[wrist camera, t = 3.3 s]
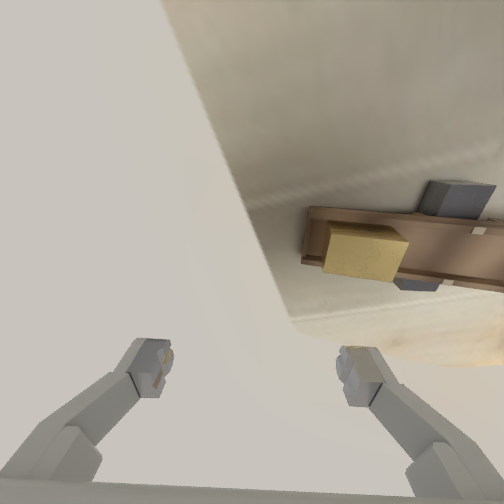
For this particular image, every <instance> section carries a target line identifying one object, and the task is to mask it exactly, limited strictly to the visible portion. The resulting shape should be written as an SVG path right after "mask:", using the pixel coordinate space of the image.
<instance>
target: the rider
mask: <svg viewBox="0 0 504 504" xmlns="http://www.w3.org/2000/svg"><path fill="white" fill-rule="evenodd" d="M409 243H410V242H408V241H407V240H406V239H405V238H404V237H403V236H402V235H401V234H400V233H398V232H397V231H396V230H395V229H394V228H393V227H392V226H385V225H375V224H364V223H354V222H343V221H333V220H327V224H326V229H325V234H324V239H323V243H322V248H321V253H320V255H321V263H322V271H323V272H324V273H331V274H337V275H344V276H351V277H358V278H364V279H371V280H378V281H385V282H391V283H392V281H393V279H394V277H395V274H396V272H397V270H398V268H399V265H400V263H401V261H402V259H403V256H404V254H405V252H406V249H407V247H408V245H409Z"/></svg>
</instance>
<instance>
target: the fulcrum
mask: <svg viewBox="0 0 504 504" xmlns="http://www.w3.org/2000/svg"><path fill="white" fill-rule="evenodd" d="M496 187H497V186H496V185H489V184H483V183H476V182H466V181H431V180H430V182H429V184H428V186H427V189H426V191H425V194H424V196H423V198H422V201H421V203H420V205H419V208H418V210H417V212H416V213H423V214H425V215H426V216H435V217H448V218H460V219H472V220H477V219H478V217H479V216H480V214H481V212H482V211H483V209H484V207H485V205H486V204H487V202H488V200H489V199H490V197H491V195H492V193H493V192H494V190H495V188H496ZM392 282H393V283H394V284H395V285H396V286H397V287H398V288H399V289H400V290H411V291H436V290H437V288H438V286H439V285H440V284H439V283H432V282H425V281H418V280H411V279H404V278H397V277H394V279H393V281H392Z"/></svg>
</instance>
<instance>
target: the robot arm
mask: <svg viewBox="0 0 504 504" xmlns="http://www.w3.org/2000/svg"><path fill="white" fill-rule="evenodd" d="M170 346H171V342H170V340H166V339H150V338H136V339H135V340H134V341H133V342H132V344H131V345H130V347H129V348H128V350H127V351H126V353H125V354H124V356H123V357H122V359H121V360H120V362H119V363H118V365H117V367H116V368H115V369H114V371H113V372H109V373H108V374H106V375H105V376H103V377H102V378H101V379H99V380H98V381H96V382H95V383H94V384H92V385H91V386H90V387H88V388H87V389H86V390H84V391H83V392H81V393H80V394H79V395H77V396H76V397H74V398H73V399H72V400H70V401H69V402H68V403H66V404H65V405H64V406H62V407H61V408H59V409H58V410H57V411H55V412H54V413H52V414H51V415H50V416H48V417H47V418H46V419H44V420H43V421H41V422H40V423H39V424H38V425H37V426H36V428H35V429H34V430H33V431H32V433H31V434H30V435H29V436H28V437H27V439H26V440H25V441H24V443H23V444H22V445H21V446H20V447H19V449H18V450H17V451H16V452H15V453H14V455H13V456H12V457H11V458H10V460H9V461H8V462H7V463H6V465H5V466H4V467H3V468H2V470H1V471H0V504H504V480H503V478H502V477H501V476H500V474H499V473H498V472H497V470H496V469H495V468H494V466H493V465H492V464H491V462H490V461H489V460H488V458H487V457H486V456H485V455H484V453H483V452H482V450H481V449H480V448H479V446H478V445H477V444H476V443H475V442H474V441H473V440H472V439H470V438H469V437H468V436H467V435H465V434H464V433H463V432H462V431H460V430H459V429H458V428H457V427H456V426H454V425H453V424H452V423H451V422H449V421H448V420H447V419H446V418H444V417H443V416H442V415H441V414H439V413H438V412H437V411H436V410H434V409H433V408H432V407H431V406H429V405H428V404H427V403H426V402H425V401H423V400H422V399H421V398H420V397H418V396H417V395H416V394H415V393H413V392H412V391H411V390H410V389H409V388H407V387H406V386H405V385H404V384H399V382H398V381H397V379H396V377H395V376H394V374H393V373H392V371H391V369H390V368H389V366H388V365H387V363H386V361H385V360H384V358H383V357H382V355H381V353H380V352H379V350H378V349H377V348H376V347H363V346H342V347H341V348H340V354H341V355H339V356H338V357H337V360H336V370H337V374H338V377H339V379H340V380H341V381H342V382H343V383H344V387H343V391H344V393H345V396H346V399H347V402H348V404H349V406H356V407H369V409H370V411H371V412H372V413H373V414H374V415H375V416H376V418H377V419H378V420H379V421H380V422H381V423H382V425H383V426H384V427H385V428H386V429H387V430H388V432H389V433H390V434H391V435H392V436H393V437H394V438H395V440H396V441H397V442H398V443H399V444H400V446H401V447H402V448H403V449H404V450H405V451H406V453H407V454H408V455H409V456H410V457H411V458H412V460H413V461H414V462H413V463H412V464H411V465H410V466H409V467H408V468H407V469H406V472H405V474H406V476H407V479H408V481H409V483H410V485H411V488H412V490H413V492H414V494H415V496H416V497H401V496H400V497H399V496H380V495H359V494H338V493H336V494H335V493H316V492H296V491H275V490H254V489H232V488H211V487H190V486H168V485H148V484H126V483H105V482H92V480H93V478H94V476H95V474H96V472H97V470H98V468H99V466H100V463H101V462H102V455H101V454H100V452H99V451H98V450H97V449H96V447H95V446H96V445H97V444H98V443H99V442H100V441H101V440H102V438H103V437H104V436H105V435H106V434H107V433H108V432H109V431H110V430H111V429H112V428H113V427H114V426H115V425H116V424H117V423H118V421H120V420H121V419H122V417H123V416H124V415H125V414H126V413H127V412H128V411H129V410H130V409H131V408H132V407H133V406H134V405H135V404H136V403H137V402H138V400H139V399H140V398H159V397H160V395H161V393H162V390H163V387H164V385H165V383H166V381H165V378H164V377H165V376H166V375H167V374H168V373H169V372H170V370H171V367H172V364H173V359H174V354H173V350H171V349H170Z"/></svg>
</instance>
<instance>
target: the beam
mask: <svg viewBox="0 0 504 504" xmlns="http://www.w3.org/2000/svg"><path fill="white" fill-rule="evenodd" d="M327 220H333V221H343V222H354V223H364V224H375V225H385V226H392V227H393V228H394V229H395V230H396V231H397V232H398V233H400V234H401V235H402V236H403V237H404V238H405V239H406V240H407V241H408V242H410V243H409V245H408V247H407V249H406V252H405V254H404V256H403V259H402V261H401V263H400V265H399V268H398V270H397V272H396V274H395V277H397V278H404V279H411V280H418V281H425V282H432V283H439V284H443V285H450V286H451V285H453V286H460V287H467V288H474V289H481V290H488V291H495V292H502V293H504V221H502V220H500V219H490V218H488V220H487V221H484V220H472V219H460V218H448V217H435V216H426V215H425V214H423V213H415V212H413V213H412V215H411V214H399V213H387V212H375V211H362V210H350V209H338V208H326V207H314V206H309V211H308V217H307V224H306V230H305V236H304V242H303V249H302V256H301V264H306V265H313V266H320V267H322V263H321V255H320V253H321V248H322V243H323V239H324V234H325V229H326V224H327Z"/></svg>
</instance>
